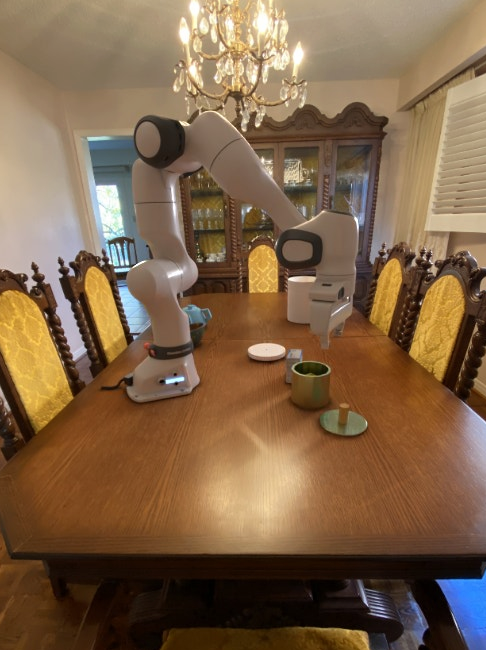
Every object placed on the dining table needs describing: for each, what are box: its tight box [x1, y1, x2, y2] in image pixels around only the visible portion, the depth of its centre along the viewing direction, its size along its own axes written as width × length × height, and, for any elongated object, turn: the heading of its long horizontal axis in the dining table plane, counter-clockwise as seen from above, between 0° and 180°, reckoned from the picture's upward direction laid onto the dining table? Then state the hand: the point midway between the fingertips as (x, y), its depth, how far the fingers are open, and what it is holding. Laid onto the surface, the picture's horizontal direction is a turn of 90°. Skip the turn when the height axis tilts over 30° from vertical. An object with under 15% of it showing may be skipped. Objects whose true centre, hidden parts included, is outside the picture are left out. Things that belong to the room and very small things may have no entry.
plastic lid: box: [247, 342, 286, 362], centre depth 130 cm, size 14×14×2 cm
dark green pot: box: [151, 323, 205, 349], centre depth 139 cm, size 13×20×10 cm, turn 99°
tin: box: [290, 360, 332, 410], centre depth 96 cm, size 10×10×10 cm
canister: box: [286, 275, 316, 324], centre depth 171 cm, size 16×16×20 cm
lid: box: [319, 402, 368, 438], centre depth 85 cm, size 11×11×6 cm
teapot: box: [181, 304, 213, 327], centre depth 164 cm, size 15×15×11 cm
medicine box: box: [285, 348, 303, 384], centre depth 110 cm, size 8×4×9 cm, turn 168°
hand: (331, 342), depth 84 cm, fingers open, 8 cm apart
